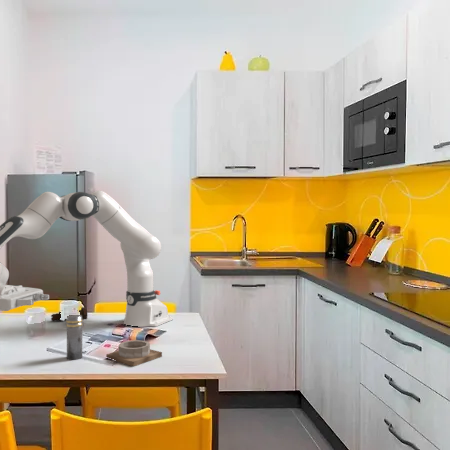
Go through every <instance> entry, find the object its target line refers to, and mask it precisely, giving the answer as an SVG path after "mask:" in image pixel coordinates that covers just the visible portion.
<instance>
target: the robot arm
mask: <svg viewBox="0 0 450 450" xmlns="http://www.w3.org/2000/svg"><path fill="white" fill-rule="evenodd" d="M90 217H93V218H94V219H95V220H96V221H97V222H98V223H99V224H100V225H101V227H103V229H105V230H106V231H107V232H108V233H109V234H110V235H111V237H113V238H114V239H116V240H117V241H118V242H120V249H121V251H122V253H123V258H124V264H125V269H126V277H127V279H126V281H127V282H126V283H127V284H126V285H127V286H126V287H127V290H126V292H125V298H126V307H125V308H126V309H125V315H124V319H123V325H124V324H127V325H133V326H138V327H137V328H142V327H159V326H160V325H162V324H166V323H168V322H170V321H173V320H174V317H173V316H171V315H169V314H168V312H169V311H168V307H167V305H166V304H164V303H163V302H162V301H161V300H159V299H158V298H157V296H160V295H161V290H158V289H156V290H154V272H153V269H152V267H151V263H150V260H153V259H155V258H158V256H159V255H160V253H161V251H162V243H161V241H160V240H159V239H158V237H156V236H155V235H153V234H152V233H151V232H149V231H148V230H147V229H146V228H145V227H143V226H142V225H141V224H140V223H138V222H137V221H136V219H134V218H133V217H132V216H131V215H130V214H129V213H128V212H127V211H126V210H125V209H124V208H123V207H122V206H121V205H120V204H119V202H117V201H116V199H114V198H113V197H112V196H111V195H109V194H108V193H106V191H104V190H96V191H93V192H92V193H88V192H85V191H78V192H77V191H76V192H71V193H70V192H69V193H68V194H64V195H61V196H59V195H58V194H57V193H55V192H52V191H45V192H43V193H40V195H39V196H37V197H36V198H35V199H33V201H32V202H31V203H30V204H29V205H28V206H27V207H26V209H24V211H22V212H21V213H20V214H18V215H17V216H15V215H14V216H12V217H10V218H8V219H7V220H5V221H3V222H2V223H1V224H0V249H2V248H3V247H4V246H5V245H6V244H7V243H8V242H9V241H10V240H11V239H13V238H17V237H20V238H24V239H28V240H36V239H40V238H42V237H43V236H44V235H45V234H46V233H47V232H48V231H49V230H50V229H51V227H52V226H53V225H54V223H56V221H57V220H58V219H61V220H63V221H67V222H71V221H72V222H77V221H78V222H79V221H81V220H86V219H88V218H90ZM9 277H10V272H9V269H8V268H7V266H5V265H4V264H3V263H2V262H1V261H0V311H2V312H8V311H11V310H13V309H17V308H19V307H23V306H32V305H34V303H36V302H39V301H48V300H50V294H44V290H43V289H41V288H37V287H27V286H23V285H17V284H16V285H13V284H12V285H11V284H7V282H8V280H9ZM127 325H126V326H127Z"/></svg>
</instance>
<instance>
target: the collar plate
mask: <svg viewBox="0 0 450 450" xmlns="http://www.w3.org/2000/svg"><path fill="white" fill-rule="evenodd" d="M106 357H109V358H111V359H114V360H116V361H117V362H116V361H115V362H116V363H119V364H124V365H127V366H130V367H134V368H135V367H136V366H139V365H142V364H145V363H148V362H151V361H153V360H157V359H158V358H162V357H163V352H161V351H158V350H154V349H152V348H151V344H150V342H149V341H147V340H146V341H145V340H139V339H137V340H136V339H132V340H127V341H123V342H120V343H119V344H118V350H115V351H113V352H109V353H107V354H106Z"/></svg>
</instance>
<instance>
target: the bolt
mask: <svg viewBox="0 0 450 450" xmlns="http://www.w3.org/2000/svg"><path fill="white" fill-rule="evenodd" d="M78 310H79V312H80V315H82V320H87V319H88V309H87V307H86V306H82V307H81V309H78ZM60 313H61V312H60V311H58V313H56V312H55V313H52V314H51V315H50V317H51V318H50V319H51V321H52V322H56V321H60V318H61V314H60Z"/></svg>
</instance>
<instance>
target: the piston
mask: <svg viewBox="0 0 450 450" xmlns="http://www.w3.org/2000/svg"><path fill="white" fill-rule="evenodd" d="M65 322H66V324H65V325H66V326H65V327H66V359H67V360H68V361H77V360H80V359H83V318H82V315H69V316H67V319H65Z"/></svg>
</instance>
